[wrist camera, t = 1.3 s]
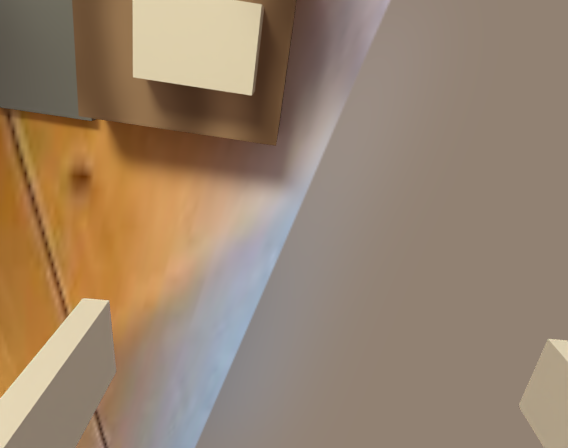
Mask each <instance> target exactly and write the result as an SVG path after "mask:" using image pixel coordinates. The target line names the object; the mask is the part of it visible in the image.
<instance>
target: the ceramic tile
mask: <svg viewBox="0 0 568 448" xmlns="http://www.w3.org/2000/svg"><path fill="white" fill-rule="evenodd" d="M263 14H264V6H263V5H262V4H256V3H250V2H244V1H238V0H133V77H134V78H141V79H147V80H154V81H160V82H167V83H173V84H180V85H186V86H193V87H199V88H206V89H212V90H219V91H225V92H232V93H238V94H245V95H251V96H252V95H253V93H254V92H255V86H256V77H257V68H258V59H259V50H260V41H261V32H262V23H263Z"/></svg>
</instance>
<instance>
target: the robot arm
mask: <svg viewBox="0 0 568 448" xmlns="http://www.w3.org/2000/svg"><path fill="white" fill-rule="evenodd" d="M115 373H116V364H115V354H114V344H113V334H112V324H111V314H110V304H109V300H99V299H88V298H83V299H82V300H81V301H80V302H79V304H78V305H77V306H76V307H75V308H74V310H73V311H72V312H71V313H70V315H69V316H68V317H67V318H66V319H65V321H64V322H63V323H62V324H61V325H60V327H59V328H58V329H57V330H56V331H55V333H54V334H53V335H52V336H51V338H50V339H49V340H48V341H47V342H46V344H45V345H44V346H43V347H42V348H41V350H40V351H39V352H38V353H37V355H36V356H35V357H34V358H33V359H32V361H31V362H30V363H29V364H28V365H27V367H26V368H25V369H24V370H23V372H22V373H21V374H20V375H19V376H18V378H17V379H16V380H15V381H14V382H13V384H12V385H11V386H10V387H9V388H8V390H7V391H6V392H5V393H4V395H3V396H2V397H1V398H0V448H75V447H76V446H77V444H78V442H79V440H80V438H81V436H82V434H83V433H84V431H85V429H86V427H87V425H88V423H89V421H90V420H91V418H92V416H93V414H94V412H95V410H96V408H97V407H98V405H99V403H100V401H101V399H102V397H103V395H104V394H105V392H106V390H107V388H108V386H109V384H110V382H111V381H112V379H113V377H114V375H115ZM519 407H520V409H521V411H522V413H523V414H524V416H525V417H526V419H527V420H528V422H529V424H530V425H531V427H532V429H533V430H534V432H535V434H536V435H537V437H538V438H539V440H540V442H541V443H542V445H543V447H544V448H568V341H565V340H555V339H548V340H547V343H546V345H545V347H544V349H543V352H542V354H541V356H540V359H539V361H538V363H537V365H536V367H535V370H534V372H533V374H532V376H531V379H530V381H529V383H528V386H527V388H526V390H525V392H524V395H523V397H522V399H521V401H520V404H519Z"/></svg>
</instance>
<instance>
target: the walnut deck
mask: <svg viewBox="0 0 568 448" xmlns="http://www.w3.org/2000/svg"><path fill="white" fill-rule="evenodd" d="M238 1H244V2H250V3H256V4H262V5H263V6H264V14H263V23H262V32H261V41H260V50H259V59H258V68H257V77H256V86H255V92H254V93H253V95H252V96H251V95H245V94H238V93H232V92H225V91H219V90H212V89H206V88H199V87H193V86H186V85H180V84H173V83H167V82H160V81H154V80H147V79H141V78H134V77H133V0H72V8H73V26H74V43H75V61H76V78H77V95H78V113H79V116H81V117H87V118H94V119H101V120H107V121H114V122H121V123H127V124H134V125H141V126H147V127H154V128H161V129H168V130H174V131H181V132H188V133H194V134H201V135H208V136H214V137H221V138H228V139H234V140H241V141H248V142H255V143H261V144H268V145H275V146H276V142H277V136H278V129H279V122H280V115H281V108H282V101H283V94H284V86H285V79H286V72H287V65H288V58H289V50H290V43H291V36H292V29H293V22H294V15H295V7H296V0H238Z"/></svg>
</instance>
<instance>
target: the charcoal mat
mask: <svg viewBox="0 0 568 448" xmlns="http://www.w3.org/2000/svg"><path fill="white" fill-rule="evenodd" d="M0 107H2V108H8V109H15V110H22V111H28V112H35V113H42V114H49V115H55V116H62V117H69V118H75V119H82V120H89V121H93V120H95V119H94V118H87V117H81V116H79V113H78V95H77V78H76V61H75V43H74V26H73V8H72V0H0Z"/></svg>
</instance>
